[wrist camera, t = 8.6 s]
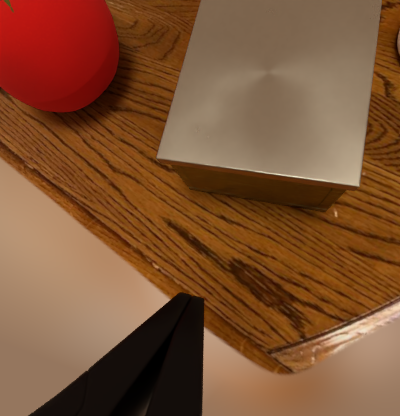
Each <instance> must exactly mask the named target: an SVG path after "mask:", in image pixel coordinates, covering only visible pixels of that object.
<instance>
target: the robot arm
mask: <svg viewBox="0 0 400 416" xmlns="http://www.w3.org/2000/svg"><path fill="white" fill-rule="evenodd" d="M203 340H204V299H203V298H201V297H197V296H191V295H190V294H186V293H183V292H181V293H178V294H177V295H176V296H175V297H174V298H172V299H171V300H170V301H169V302H168V303H166V304H165V305H164V306H163V307H162V308H160V309H159V310H158V311H157V312H156V313H155V314H153V315H152V316H151V317H150V318H149V319H147V320H146V321H145V322H144V323H143V324H141V326H139V327H138V328H137V329H135V330H134V331H133V332H132V333H131V334H130V335H128V336H127V337H126V338H125V339H124V340H122V341H121V342H120V343H119V344H118V345H116V346H115V347H114V348H113V349H112V350H110V351H109V352H108V353H107V354H106V355H105V356H103V357H102V358H101V359H100V360H99V361H97V362H96V363H95V364H94V365H93V366H91V367H90V368H89V370H88V371H85V372H84V373H83V374H82V375H81V376H79V378H77V379H76V380H75V381H73V382H72V383H71V384H70V385H69V386H67V387H66V388H65V389H63V390H62V391H61V392H60V393H59V394H57V395H56V396H55V397H54V398H52V399H51V400H49V401H48V402H46V403H45V404H44V405H43V406H41V407H40V408H38V409H37V410H36V411H34V412H33V413H31V414H30V415H29V416H202V395H203Z"/></svg>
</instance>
